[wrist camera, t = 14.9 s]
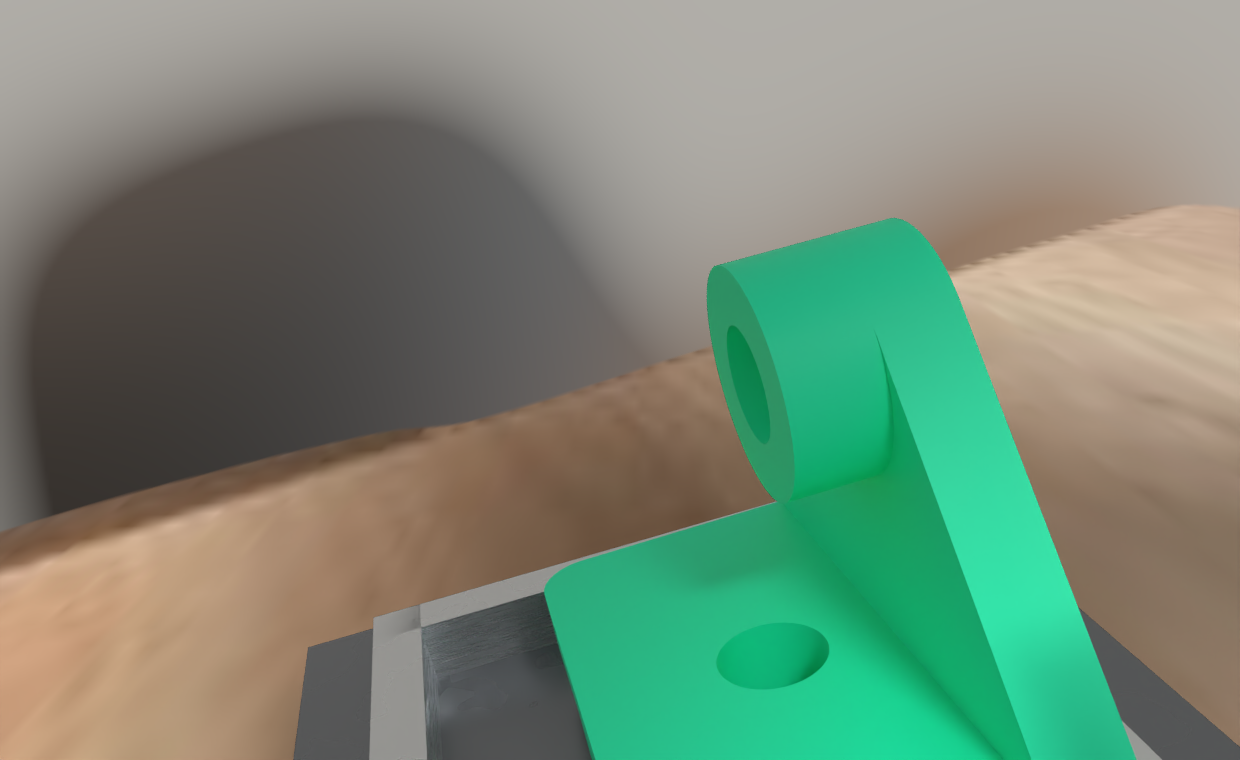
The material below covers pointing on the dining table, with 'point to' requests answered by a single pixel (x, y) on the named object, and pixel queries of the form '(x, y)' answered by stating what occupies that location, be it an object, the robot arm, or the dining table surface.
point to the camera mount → (844, 547)
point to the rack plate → (541, 692)
